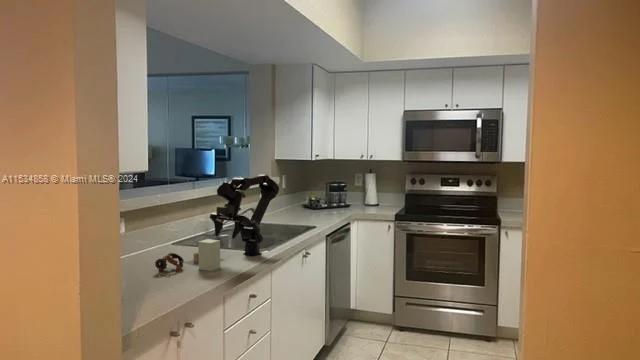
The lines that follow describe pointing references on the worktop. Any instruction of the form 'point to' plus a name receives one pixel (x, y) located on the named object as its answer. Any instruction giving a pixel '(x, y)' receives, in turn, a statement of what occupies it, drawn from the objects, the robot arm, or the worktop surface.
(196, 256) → the cork stopper
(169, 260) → the red and black headphones
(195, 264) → the slate mat
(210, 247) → the sage cover
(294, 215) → the worktop surface
